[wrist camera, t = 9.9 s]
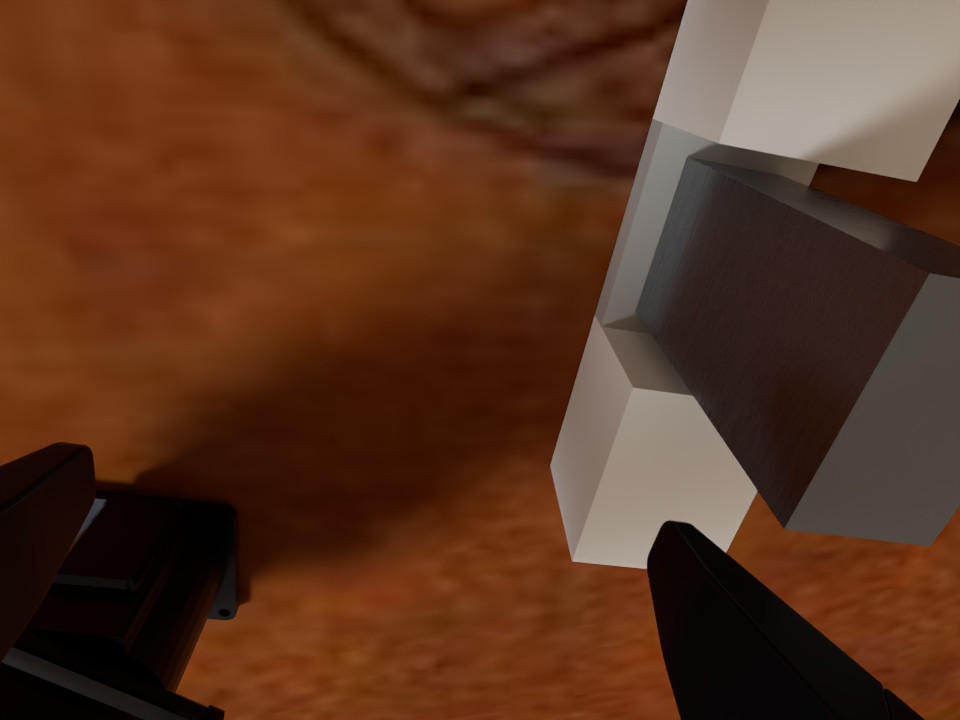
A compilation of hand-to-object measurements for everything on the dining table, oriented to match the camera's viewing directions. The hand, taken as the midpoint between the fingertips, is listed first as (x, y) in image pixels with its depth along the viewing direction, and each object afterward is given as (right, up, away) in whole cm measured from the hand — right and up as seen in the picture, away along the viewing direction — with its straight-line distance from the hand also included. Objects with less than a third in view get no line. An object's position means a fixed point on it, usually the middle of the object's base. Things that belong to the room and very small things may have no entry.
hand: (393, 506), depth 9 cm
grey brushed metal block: (+9, +6, +9) cm, 14 cm away
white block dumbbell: (+8, +6, +10) cm, 15 cm away
